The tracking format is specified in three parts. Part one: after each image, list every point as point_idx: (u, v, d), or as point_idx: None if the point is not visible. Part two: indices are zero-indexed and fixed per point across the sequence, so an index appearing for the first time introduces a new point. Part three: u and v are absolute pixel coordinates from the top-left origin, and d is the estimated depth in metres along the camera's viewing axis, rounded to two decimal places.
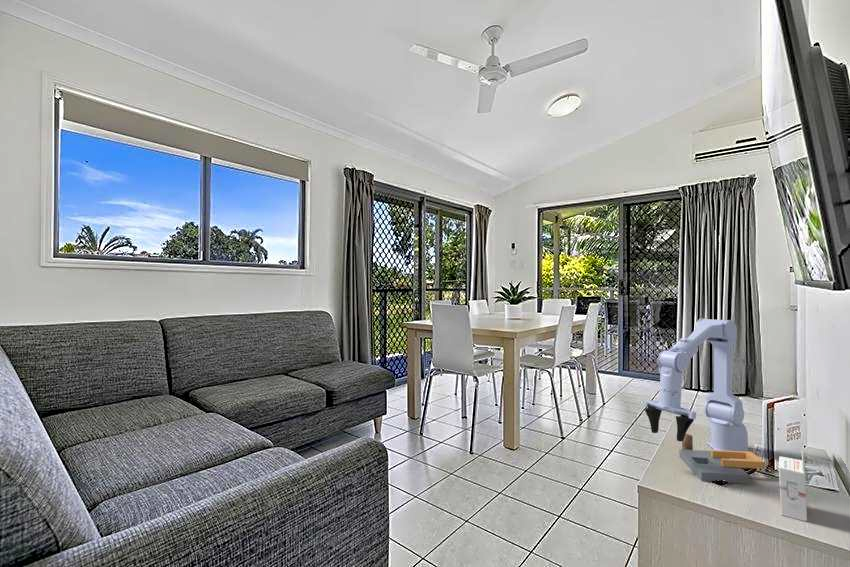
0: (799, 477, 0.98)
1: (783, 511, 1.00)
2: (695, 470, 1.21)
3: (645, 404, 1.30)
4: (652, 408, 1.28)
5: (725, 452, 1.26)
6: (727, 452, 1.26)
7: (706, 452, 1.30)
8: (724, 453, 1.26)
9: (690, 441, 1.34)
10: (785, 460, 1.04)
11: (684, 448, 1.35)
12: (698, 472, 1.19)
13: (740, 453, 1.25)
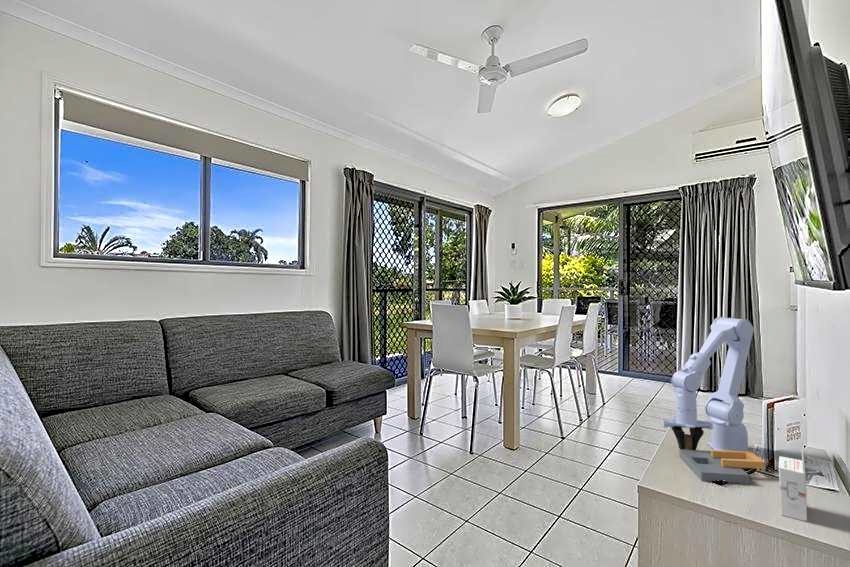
0: (799, 477, 0.98)
1: (783, 511, 1.00)
2: (695, 470, 1.21)
3: (665, 425, 1.36)
4: (679, 428, 1.35)
5: (725, 452, 1.26)
6: (727, 452, 1.26)
7: (706, 452, 1.30)
8: (724, 453, 1.26)
9: (690, 441, 1.34)
10: (785, 460, 1.04)
11: (684, 448, 1.35)
12: (698, 472, 1.19)
13: (740, 453, 1.25)
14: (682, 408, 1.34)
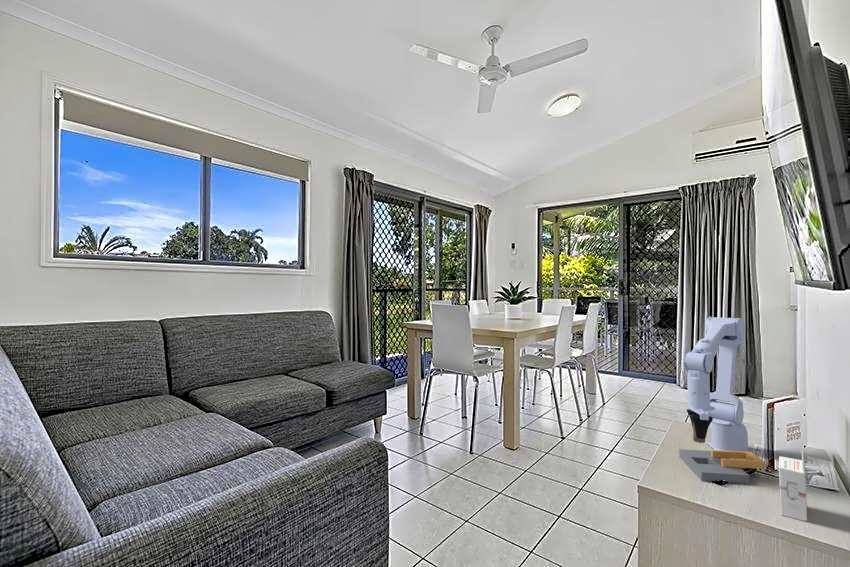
0: (799, 477, 0.98)
1: (783, 511, 1.00)
2: (695, 470, 1.21)
3: None
4: None
5: (725, 452, 1.26)
6: (727, 452, 1.26)
7: (706, 452, 1.30)
8: (724, 453, 1.26)
9: None
10: (785, 460, 1.04)
11: None
12: (698, 472, 1.19)
13: (740, 453, 1.25)
14: (699, 392, 1.23)
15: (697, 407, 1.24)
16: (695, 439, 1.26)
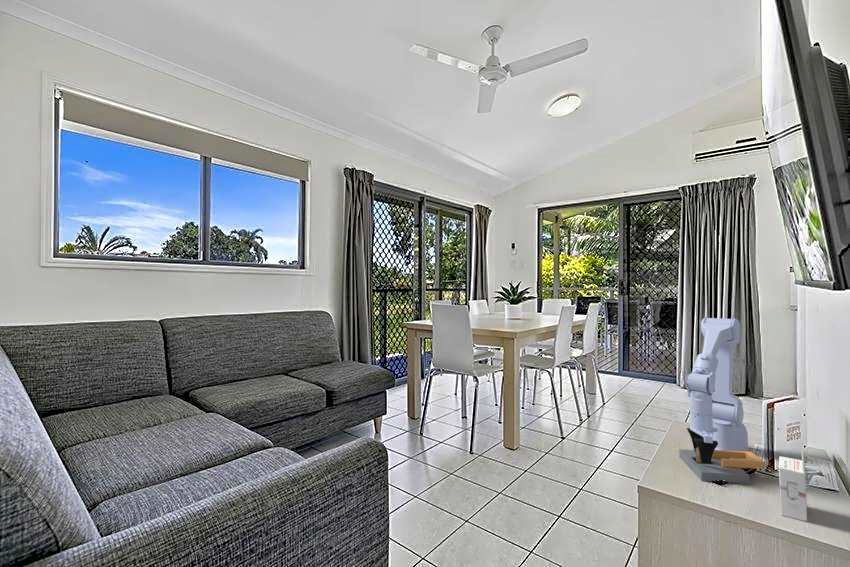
0: (799, 477, 0.98)
1: (783, 511, 1.00)
2: (695, 470, 1.21)
3: None
4: None
5: (725, 452, 1.26)
6: (727, 452, 1.26)
7: None
8: (724, 453, 1.26)
9: None
10: (785, 460, 1.04)
11: None
12: (698, 472, 1.19)
13: (740, 453, 1.25)
14: (702, 414, 1.22)
15: (700, 429, 1.22)
16: None
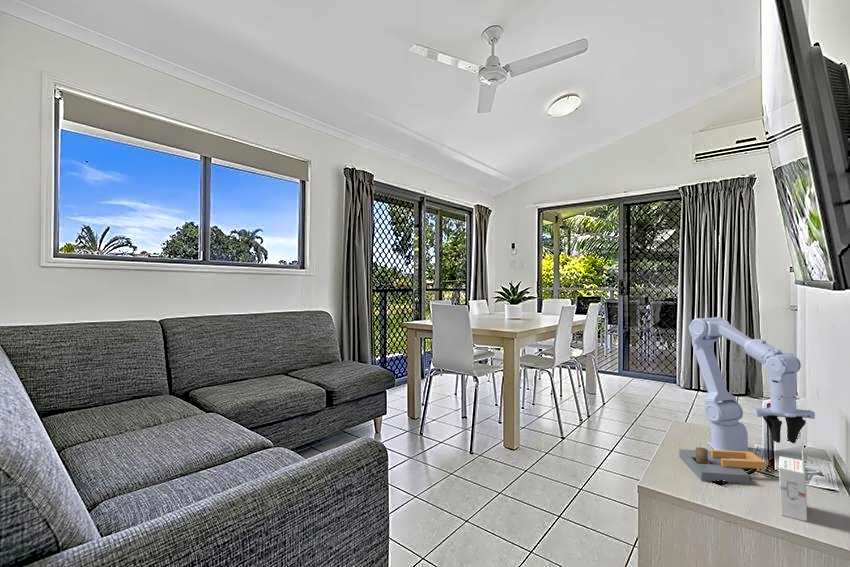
0: (799, 477, 0.98)
1: (783, 511, 1.00)
2: (695, 470, 1.21)
3: (758, 415, 1.21)
4: (775, 417, 1.20)
5: (725, 452, 1.26)
6: (727, 452, 1.26)
7: None
8: (724, 453, 1.26)
9: None
10: (785, 460, 1.04)
11: None
12: (698, 472, 1.19)
13: (740, 453, 1.25)
14: (795, 395, 1.18)
15: (770, 407, 1.21)
16: None
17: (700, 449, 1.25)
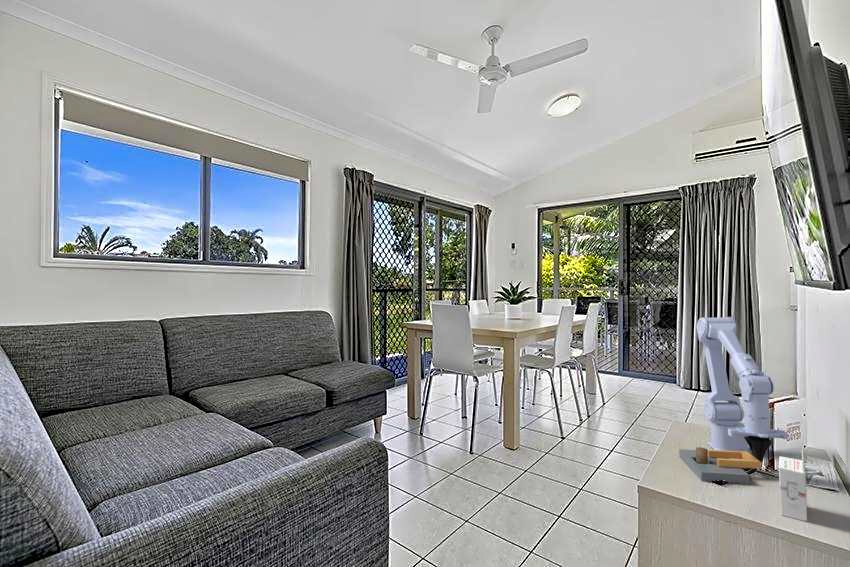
0: (799, 477, 0.98)
1: (783, 511, 1.00)
2: (695, 470, 1.21)
3: (732, 435, 1.22)
4: (755, 438, 1.21)
5: (721, 452, 1.26)
6: (723, 452, 1.26)
7: None
8: (720, 453, 1.26)
9: None
10: (785, 460, 1.04)
11: None
12: (698, 472, 1.19)
13: (736, 453, 1.25)
14: (767, 416, 1.19)
15: (744, 427, 1.23)
16: None
17: (700, 449, 1.25)
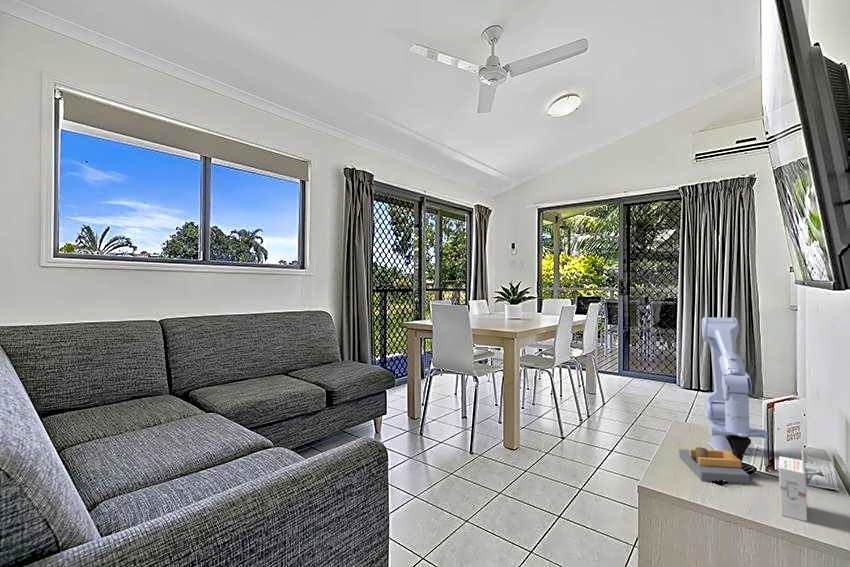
0: (799, 477, 0.98)
1: (783, 511, 1.00)
2: (695, 470, 1.21)
3: (713, 434, 1.23)
4: (735, 437, 1.22)
5: None
6: None
7: None
8: None
9: None
10: (785, 460, 1.04)
11: None
12: (698, 472, 1.19)
13: (717, 452, 1.26)
14: (744, 416, 1.20)
15: (725, 427, 1.24)
16: None
17: (700, 449, 1.25)
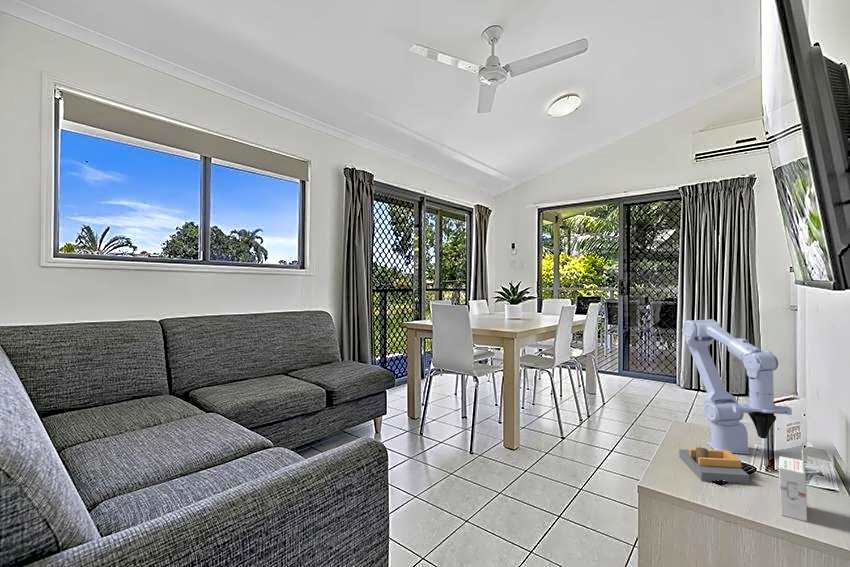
0: (799, 477, 0.98)
1: (783, 511, 1.00)
2: (695, 470, 1.21)
3: (737, 411, 1.24)
4: (759, 414, 1.23)
5: None
6: None
7: None
8: None
9: None
10: (785, 460, 1.04)
11: None
12: (698, 472, 1.19)
13: (718, 452, 1.26)
14: (772, 392, 1.21)
15: (749, 404, 1.25)
16: None
17: (700, 449, 1.25)
